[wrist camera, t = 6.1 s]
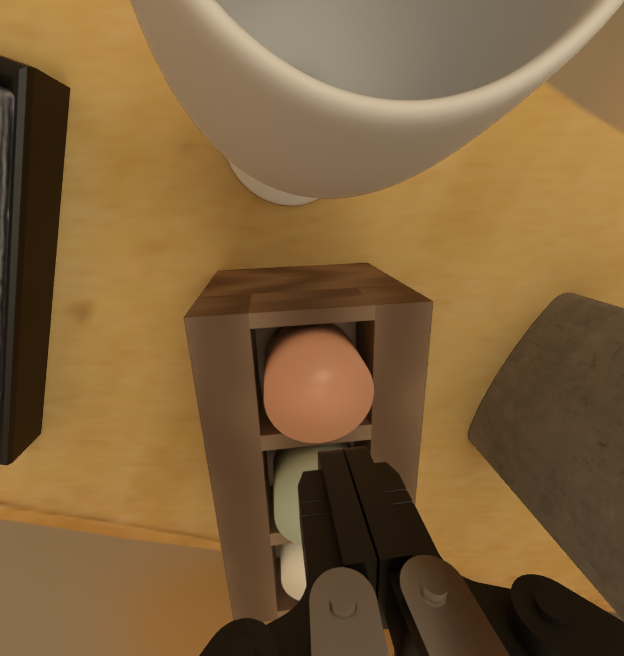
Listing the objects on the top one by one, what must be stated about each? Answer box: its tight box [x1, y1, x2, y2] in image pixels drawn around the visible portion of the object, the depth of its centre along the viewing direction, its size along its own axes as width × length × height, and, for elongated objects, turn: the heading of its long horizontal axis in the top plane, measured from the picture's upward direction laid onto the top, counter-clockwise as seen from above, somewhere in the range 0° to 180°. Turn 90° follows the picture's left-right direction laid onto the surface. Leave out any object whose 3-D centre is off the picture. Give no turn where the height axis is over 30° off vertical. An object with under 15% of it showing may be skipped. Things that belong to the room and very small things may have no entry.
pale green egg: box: [273, 442, 352, 546], centre depth 19 cm, size 5×5×4 cm
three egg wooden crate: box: [184, 263, 433, 622], centre depth 24 cm, size 11×20×11 cm, turn 2°
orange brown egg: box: [264, 323, 374, 443], centre depth 17 cm, size 5×5×4 cm
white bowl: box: [130, 0, 624, 206], centre depth 13 cm, size 9×9×21 cm
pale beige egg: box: [280, 543, 306, 601], centre depth 22 cm, size 5×5×4 cm
